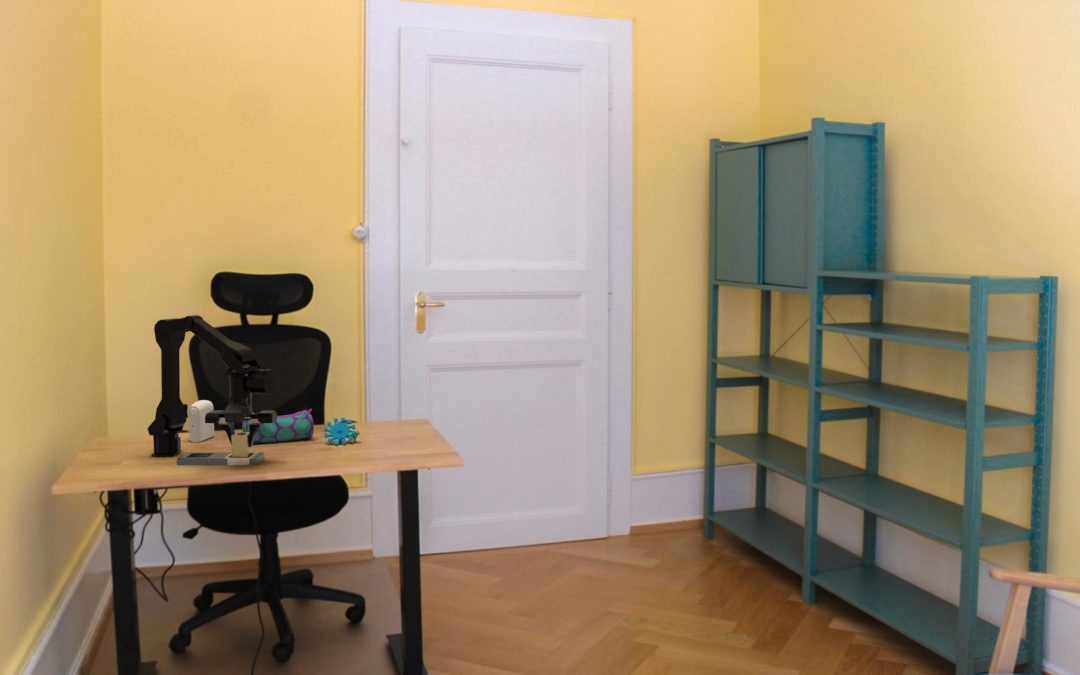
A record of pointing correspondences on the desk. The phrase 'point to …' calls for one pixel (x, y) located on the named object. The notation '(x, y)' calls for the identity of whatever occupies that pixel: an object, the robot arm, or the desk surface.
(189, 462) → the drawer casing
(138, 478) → the desk surface
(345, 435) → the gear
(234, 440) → the wooden pull-out drawer
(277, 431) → the pencil case
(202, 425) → the photo printer
